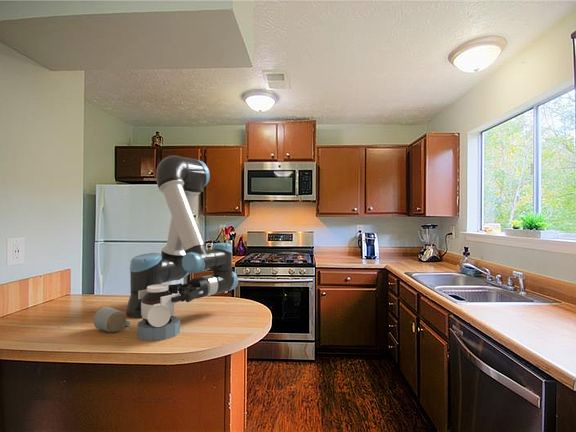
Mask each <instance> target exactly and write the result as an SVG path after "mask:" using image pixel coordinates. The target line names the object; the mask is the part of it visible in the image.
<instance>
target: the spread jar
mask: <svg viewBox="0 0 576 432" xmlns="http://www.w3.org/2000/svg"><path fill="white" fill-rule="evenodd" d="M169 285H170V284H165V283H162V284H156V285H150V286H148V287H147V293H146V294H145V295H144V296H143V298H142V301H141V316H142V320H144V321H146V322H147V323H149V324H150V325H152V326H154V327H161V326H164V325H165V324H167V323H168V321H169V319H170V318H171V317H172V316H174V314H175V303H173V304H168V305H164V306H160V297H163V296H168V295H172V293H171V292H169V291H168V290H169Z"/></svg>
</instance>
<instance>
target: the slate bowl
mask: <svg viewBox="0 0 576 432" xmlns="http://www.w3.org/2000/svg"><path fill="white" fill-rule="evenodd" d="M180 324H181V322H180V317H178V316H176V315H173V316H172V317H171V318H170V319H169V321H168V323H167V324H165V325H164V326H161V327H154V326H152V325H150V324H149V323H147V322H146V321H144V320H143V319H142V320H140V321H138V322H137V326H136V328H137V330H136V332H137V339H139V340H141V341H143V342H158V341H159V342H160V341H165V340H168V339H171V338H175V337H176V336H178V335H179V334H180V333H181V331H180V330H181V325H180Z"/></svg>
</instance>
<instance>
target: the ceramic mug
mask: <svg viewBox="0 0 576 432" xmlns="http://www.w3.org/2000/svg"><path fill="white" fill-rule="evenodd" d="M126 317H127V316H126V313H124V312H122V311H121V310H118V309H116V308H113V307H111V306H103V307H100V309H98V310H97V311H96V313H94V316H93V322H92V323H93V325H94V327H95V329H97V330H99V331H104V332H107V333H117V332H120V331H121V330H122V329H123V328H124V327H130V325H131V321H129V320H127V318H126Z"/></svg>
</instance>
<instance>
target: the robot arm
mask: <svg viewBox="0 0 576 432" xmlns="http://www.w3.org/2000/svg"><path fill="white" fill-rule="evenodd" d="M210 176H211V175H210V169H209V167H208V166H207V165H206V163H205V162H204V161H202V160H200V159H199V160H198V159H196V158H190V157H183V156H179V155H168V156H166V157H164V158H163V159H162V160H161V161H160V162H159V164H158V166H157V168H156V171H155V178H156V179H155V180H156V183H157V188H158V190H159V192H161V193H162V194H163V196H164V199H165V202H166V204H167V207H168V209H169V210H168V211H169V213H170V216H171V218H170V223H169V228H168V229H169V230H168V235H167V240H166V245H165V246H163V247H162V248H161V252H160V253H159V252H149V253H143V254H139V255H135V256H134V257H132V258H131V260H130V267H129V273H130V274H129V275H130V277H129V278H130V295H129V299H128V301H127V305H126V307H125V316H126V317H128V318H133V319H134V318H135V319H138V318H139V319H141V318H142V316H141V301H142V298H143V296H144V295H145V294H146V293H147V287H148V286H150V285H156V284H165V283H169V282H174V281H179V280H182V279H184V278H187V277H188V276H189V275H190V274H196V273H197V274H198V273H203V272H206V271H210V270H212V274H208V275H203V276H198V277H194V278H191V279H190V281H189V283H182V282H181V283H175V284H168V285H169V290H168V291H169V292H171V293H172V295H168V296H163V297H160V306H164V305H168V304H173V303H174V304H176V303H180V302H186V303H190V302H192V301H194V300H195V299H201V298H205V297H211V295H212V296H213V295H216V294H220V293H225V292H227V293H228V292H229V291H232V290H234V289H236V288H237V287H238V284H239V278H238V275H237V274H236V272H234V271H233V263H232V262H233V252H232V251H233V250H232V244H231V243H229V242H216V243H213V244H212V249H207V247H206V245H205V242H204V241H203V240H204V239H203V237H202V235H201V231H200V229H199V226H198V223H197V221H196V218H195V215H194V211H195V206H196V202H197V196H198V195H200V194H201V193H202V188H204V187H206V186H207V185H208V183H209V181H210ZM142 319H143V318H142Z"/></svg>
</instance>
